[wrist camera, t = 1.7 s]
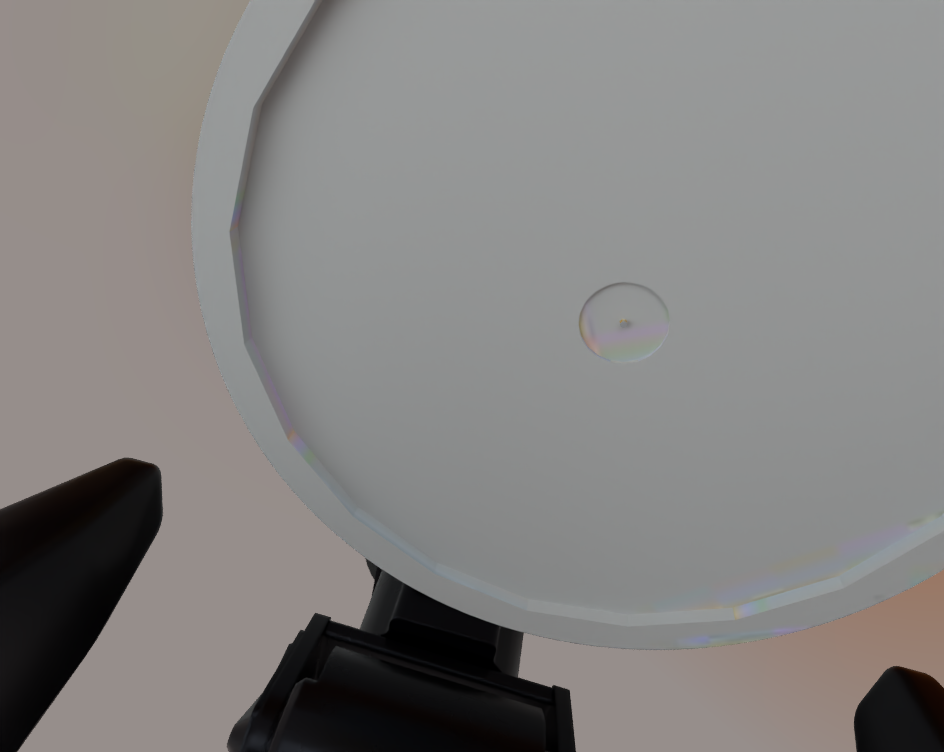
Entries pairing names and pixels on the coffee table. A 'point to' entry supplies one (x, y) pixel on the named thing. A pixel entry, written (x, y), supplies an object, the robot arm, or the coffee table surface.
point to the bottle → (592, 300)
